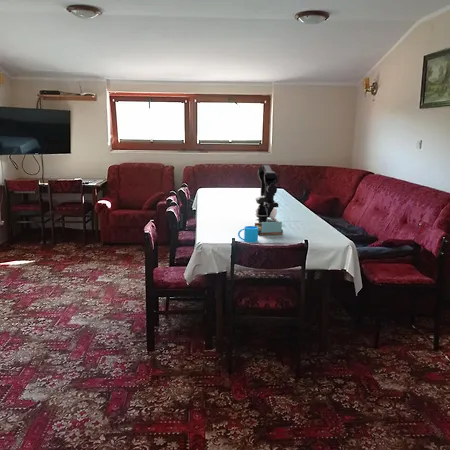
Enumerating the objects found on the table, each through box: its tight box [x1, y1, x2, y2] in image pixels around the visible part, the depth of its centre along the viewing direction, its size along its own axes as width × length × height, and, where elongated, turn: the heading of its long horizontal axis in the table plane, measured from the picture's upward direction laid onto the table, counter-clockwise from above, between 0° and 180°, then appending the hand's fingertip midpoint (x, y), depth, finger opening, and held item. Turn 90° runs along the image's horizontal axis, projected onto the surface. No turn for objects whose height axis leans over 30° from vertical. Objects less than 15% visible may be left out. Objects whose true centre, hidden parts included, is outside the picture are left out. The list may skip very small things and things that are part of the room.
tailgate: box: [261, 221, 283, 233], centre depth 261 cm, size 1×14×7 cm, turn 105°
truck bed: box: [254, 222, 284, 236], centre depth 268 cm, size 12×16×6 cm
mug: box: [237, 225, 259, 243], centre depth 247 cm, size 12×8×8 cm
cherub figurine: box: [255, 207, 280, 222], centre depth 303 cm, size 13×12×20 cm
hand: (268, 216), depth 267 cm, fingers closed
